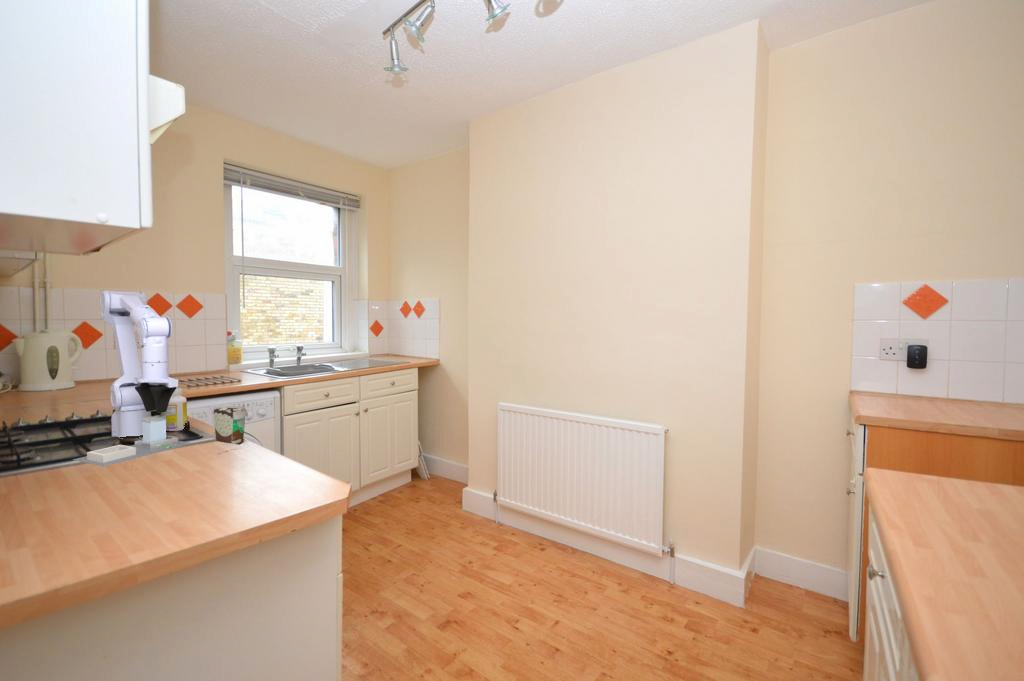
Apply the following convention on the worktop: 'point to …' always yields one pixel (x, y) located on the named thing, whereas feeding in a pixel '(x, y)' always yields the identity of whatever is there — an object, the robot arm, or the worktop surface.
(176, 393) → the supplement bottle
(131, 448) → the frame
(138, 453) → the panel
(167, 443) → the port
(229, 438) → the food container
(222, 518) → the worktop surface
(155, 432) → the plug
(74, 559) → the worktop surface
